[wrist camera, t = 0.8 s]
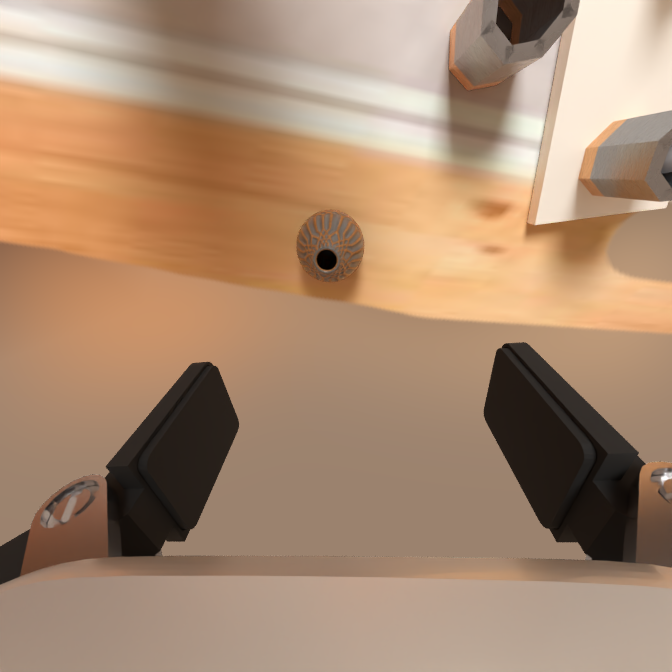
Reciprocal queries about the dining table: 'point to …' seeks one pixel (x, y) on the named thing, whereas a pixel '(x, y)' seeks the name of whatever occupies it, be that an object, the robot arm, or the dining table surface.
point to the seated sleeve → (630, 159)
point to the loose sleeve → (504, 38)
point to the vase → (330, 246)
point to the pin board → (601, 100)
